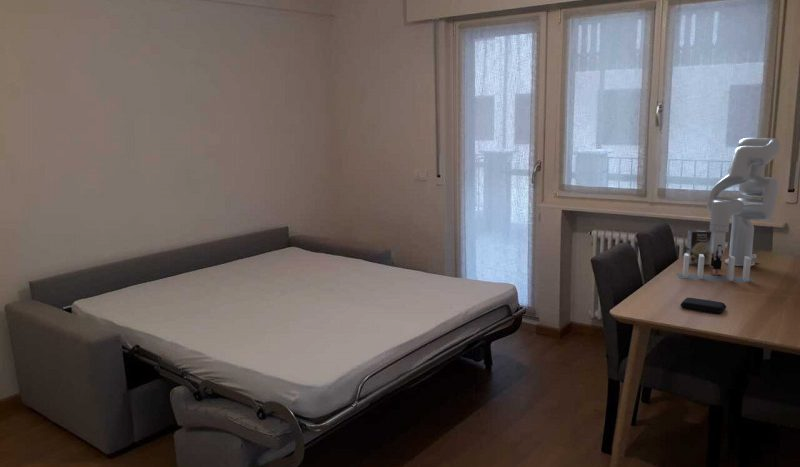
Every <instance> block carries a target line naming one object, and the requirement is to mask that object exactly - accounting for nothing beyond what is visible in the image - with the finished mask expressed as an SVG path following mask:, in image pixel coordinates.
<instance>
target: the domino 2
mask: <svg viewBox="0 0 800 467" xmlns="http://www.w3.org/2000/svg"><path fill="white" fill-rule="evenodd" d="M704 258H705V257H704V255H703V254H699V260H698V264H697V273H696V275H697V276H698V278H699V279H703V275H704V269H705V268H704V267H705V265H704Z"/></svg>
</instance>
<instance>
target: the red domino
mask: <svg viewBox="0 0 800 467" xmlns="http://www.w3.org/2000/svg"><path fill="white" fill-rule="evenodd" d="M716 253H717V254H718V252H716ZM716 256H718V255H716ZM714 258H715V253H714ZM719 270H720V269H713V268H712V273H713V276H719V272H720V271H719Z"/></svg>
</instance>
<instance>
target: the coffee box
mask: <svg viewBox="0 0 800 467" xmlns="http://www.w3.org/2000/svg"><path fill="white" fill-rule="evenodd" d="M710 237H711V231H710V230H709V229H687V238H686V248H685V253H688V254H689V265H698V260H699V254H703V255H704V257H705V258H704V266H705V265H706V266H707V265H708V266H709V264H710V256H711V252H710V250H709V245H710Z"/></svg>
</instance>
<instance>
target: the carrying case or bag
mask: <svg viewBox="0 0 800 467" xmlns="http://www.w3.org/2000/svg"><path fill="white" fill-rule="evenodd" d="M680 307H681V308H682V309H683V310H688V311H694V312H698V313H699V312H700V313H705V314H713V315H721V314H723V313H724V312H725V310H726V309H727V305H726V304H725V303H724V302H721V301H715V300H711V299H704V298H703V299H702V298H695V297H686V298H684V299H683V301H682V302H681V303H680Z"/></svg>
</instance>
